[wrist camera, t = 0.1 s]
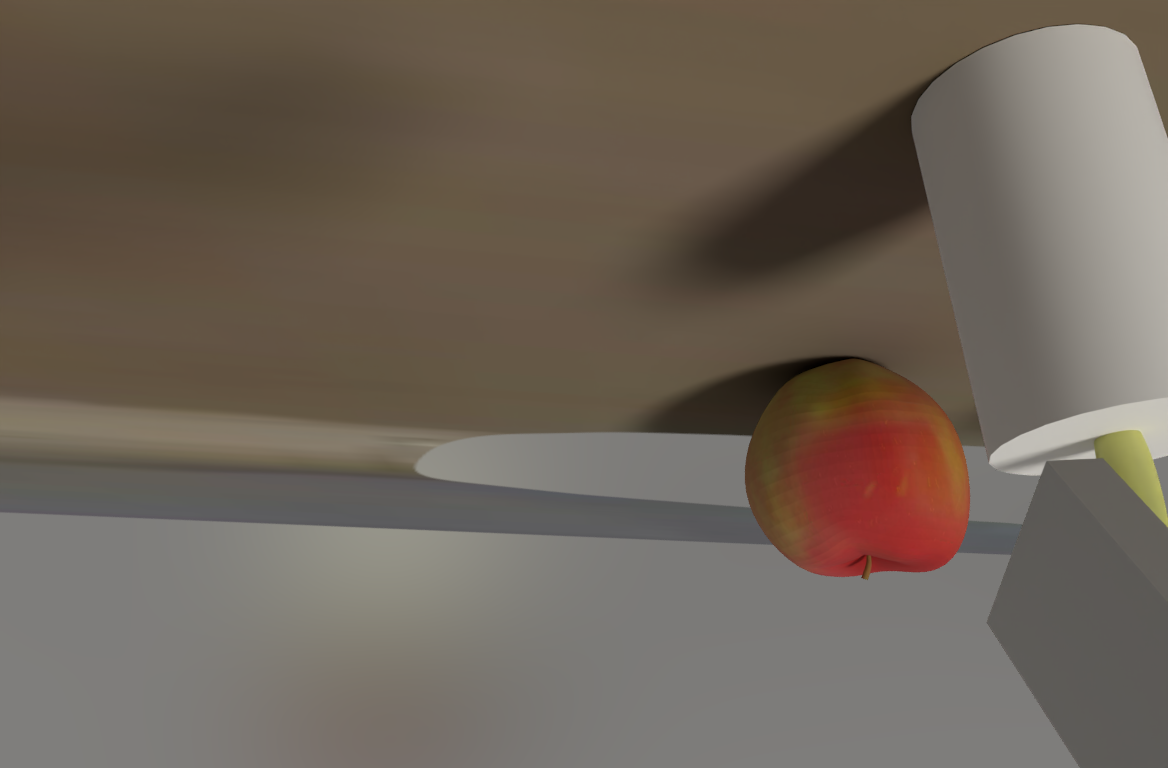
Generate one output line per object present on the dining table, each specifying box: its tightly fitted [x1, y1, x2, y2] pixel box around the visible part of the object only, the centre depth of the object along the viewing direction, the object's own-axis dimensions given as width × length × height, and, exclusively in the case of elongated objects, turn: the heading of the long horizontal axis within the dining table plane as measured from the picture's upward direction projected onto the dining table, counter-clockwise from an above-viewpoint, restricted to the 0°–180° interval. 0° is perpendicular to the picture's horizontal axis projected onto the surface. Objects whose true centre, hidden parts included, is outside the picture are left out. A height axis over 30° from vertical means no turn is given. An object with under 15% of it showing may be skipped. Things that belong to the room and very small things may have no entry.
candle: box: [911, 24, 1168, 527], centre depth 28 cm, size 6×6×15 cm
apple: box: [745, 359, 970, 580], centre depth 49 cm, size 10×10×10 cm
